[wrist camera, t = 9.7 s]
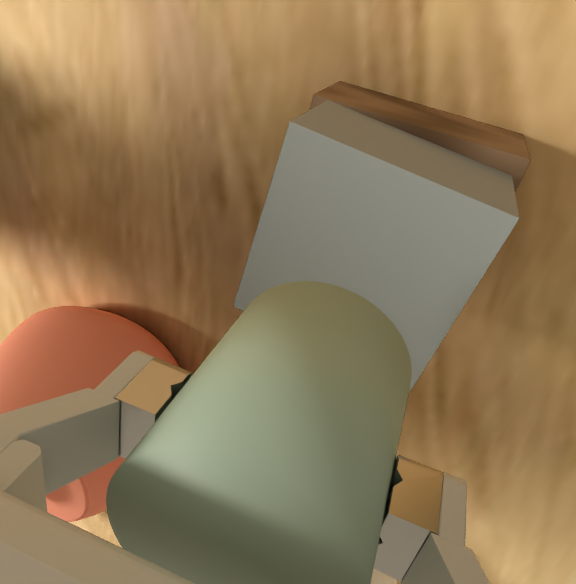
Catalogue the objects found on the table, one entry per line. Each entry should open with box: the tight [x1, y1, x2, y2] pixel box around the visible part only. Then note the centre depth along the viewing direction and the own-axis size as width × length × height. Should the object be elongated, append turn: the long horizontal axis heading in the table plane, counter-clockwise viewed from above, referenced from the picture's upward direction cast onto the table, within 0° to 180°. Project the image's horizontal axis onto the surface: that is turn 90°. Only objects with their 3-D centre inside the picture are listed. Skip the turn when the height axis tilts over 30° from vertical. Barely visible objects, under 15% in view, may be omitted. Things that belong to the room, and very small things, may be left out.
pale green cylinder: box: [106, 281, 412, 584], centre depth 12 cm, size 5×5×6 cm
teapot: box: [0, 306, 179, 522], centre depth 35 cm, size 22×15×12 cm
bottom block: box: [310, 81, 531, 338], centre depth 25 cm, size 9×9×5 cm
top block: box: [233, 100, 519, 391], centre depth 21 cm, size 8×8×5 cm
